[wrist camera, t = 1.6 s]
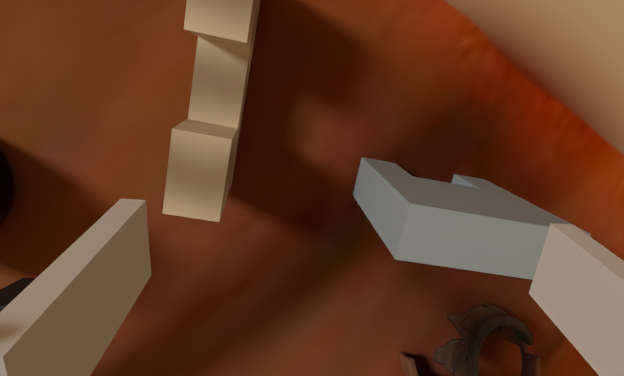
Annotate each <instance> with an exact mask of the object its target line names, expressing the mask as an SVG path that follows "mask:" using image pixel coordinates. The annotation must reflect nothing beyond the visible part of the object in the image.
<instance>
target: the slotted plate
mask: <svg viewBox="0 0 624 376" xmlns="http://www.w3.org/2000/svg"><path fill="white" fill-rule="evenodd" d="M353 196H354V198H355V199H356V201H357V202H358V204H359V206H360V207H361V209H362V210H363V212H364V213H365V215H366V216H367V218H368V219H369V221H370V222H371V224H372V225H373V227H374V228H375V230H376V231H377V233H378V234H379V236H380V237H381V239H382V240H383V242H384V243H385V245H386V246H387V248H388V250H389V251H390V253H391V254H392V256H393V257H394V259H396V260H403V261H409V262H416V263H423V264H430V265H437V266H443V267H450V268H457V269H464V270H471V271H477V272H484V273H491V274H498V275H505V276H511V277H518V278H525V279H532V280H533V278H534V275H535V272H536V269H537V265H538V262H539V259H540V256H541V253H542V249H543V246H544V243H545V240H546V236H547V233H548V230H549V227H550V224H551V223H555V224H570V223H568V222H566V221H564V220H563V219H561V218H559V217H557V216H555V215H553V214H551V213H549V212H547V211H545V210H543V209H541V208H539V207H537V206H535V205H533V204H531V203H529V202H528V201H526V200H524V199H522V198H520V197H518V196H516V195H514V194H512V193H510V192H508V191H506V190H504V189H502V188H500V187H498V186H496V185H494V184H493V183H491V182H489V181H487V180H484V179H479V178H473V177H468V176H462V175H457V174H454V176H453V180H452V183H446V182H441V181H435V180H430V179H424V178H418V177H413V176H411V175H410V174H409V173H407V172H406V171H405V170H403V169H402V168H401V167H400V166H398V165H397V164H396V163H392V162H386V161H381V160H375V159H370V158H364V157H362V158H361V163H360V167H359V171H358V175H357V179H356V184H355V188H354V192H353ZM577 228H578V227H577ZM579 229H580V228H579ZM580 230H581V231H583V232H584V233H586V234H587V235H588V236H590V235H591V234H590V233H588V232H586V231H584V230H582V229H580Z"/></svg>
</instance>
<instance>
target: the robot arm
mask: <svg viewBox="0 0 624 376" xmlns="http://www.w3.org/2000/svg"><path fill="white" fill-rule="evenodd" d="M150 277H151V263H150V250H149V237H148V224H147V212H146V200H135V199H120V200H119V201H118V202H117V203H116V204H115V205H113V206H112V207H111V208H110V209H109V210H108V211H107V212H106V213H105V214H104V215H103V216H102V217H101V218H100V219H99V220H98V221H96V222H95V223H94V224H93V225H92V226H91V227H90V228H89V229H88V230H87V231H86V232H85V233H84V234H83V235H82V236H81V237H79V238H78V239H77V240H76V241H75V242H74V243H73V244H72V245H71V246H70V247H69V248H68V249H67V250H66V251H65V252H63V253H62V254H61V255H60V256H59V257H58V258H57V259H56V260H55V261H54V262H53V263H52V264H51V265H50V266H49V267H48V268H46V269H45V270H44V271H43V272H42V273H41V274H40V275H39V276H38V277H37V278H22V279H20V280H18V281H16V282H14V283H12V284H10V285H8V286H6V287H5V288H3V289H1V290H0V376H90V375H91V373H92V372H93V370H94V368H95V367H96V365H97V364H98V362H99V360H100V359H101V357H102V355H103V354H104V352H105V350H106V349H107V347H108V346H109V344H110V342H111V341H112V339H113V337H114V336H115V334H116V332H117V331H118V329H119V328H120V326H121V324H122V323H123V321H124V319H125V318H126V316H127V314H128V313H129V311H130V309H131V308H132V306H133V305H134V303H135V301H136V300H137V298H138V296H139V295H140V293H141V291H142V290H143V288H144V287H145V285H146V283H147V282H148V280H149V278H150ZM529 294H530V296H531V297H532V298H533V299H534V300H535V301H536V303H537V304H538V305H539V306H540V307H541V308H542V310H543V311H544V312H545V313H546V314H547V315H548V317H549V318H550V319H551V320H552V321H553V322H554V324H555V325H556V326H557V327H558V328H559V329H560V331H561V332H562V333H563V334H564V335H565V336H566V338H567V339H568V340H569V341H570V342H571V343H572V345H573V346H574V347H575V348H576V349H577V350H578V352H579V353H580V354H581V355H582V356H583V357H584V359H585V360H586V361H587V362H588V363H589V365H590V366H591V367H592V368H593V369H594V370H595V372H596V373H597V374H598V375H599V376H624V261H623V260H621V259H620V258H619V257H617V256H616V255H615V254H613V253H612V252H610V251H609V250H608V249H606V248H605V247H603V246H602V245H601V244H599V243H598V242H597V241H595V240H594V239H592V238H591V237H590V236H588V235H587V234H586V233H584V232H583V231H581V230H580V229H579V228H577V227H576V226H574V225H573V224H555V223H551V224H550V227H549V230H548V233H547V236H546V240H545V243H544V246H543V249H542V253H541V256H540V259H539V262H538V265H537V269H536V272H535V275H534V278H533V281H532V285H531V288H530V291H529Z"/></svg>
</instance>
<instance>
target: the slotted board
mask: <svg viewBox="0 0 624 376" xmlns="http://www.w3.org/2000/svg"><path fill="white" fill-rule="evenodd" d="M260 2H261V0H187V4H186V13H185V22H184V30H186V31H189V32H191V33H193V34H195V35H197V36H198V42H197V50H196V58H195V66H194V74H193V82H192V90H191V98H190V106H189V114H188V119H187V120H185V121H184V122H182V123H180V124H179V125H177V126H176V127H174V128H172V135H171V144H170V152H169V161H168V170H167V178H166V187H165V196H164V205H163V214H169V215H176V216H183V217H189V218H196V219H202V220H209V221H216V222H219V221H220V218H221V215H222V212H223V209H224V206H225V203H226V200H227V197H228V194H229V191H230V188H231V185H232V180H233V174H234V167H235V161H236V154H237V148H238V142H239V135H240V129H241V123H242V116H243V110H244V104H245V97H246V91H247V85H248V78H249V72H250V66H251V59H252V53H253V47H254V40H255V34H256V27H257V21H258V15H259V8H260Z"/></svg>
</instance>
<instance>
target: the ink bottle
mask: <svg viewBox="0 0 624 376" xmlns="http://www.w3.org/2000/svg"><path fill="white" fill-rule="evenodd" d="M12 199H13V179H12V174H11V170H10V167H9V165H8V163H7V160H6V159H5V157H4V155H3V154H2V152H1V151H0V224H1V223H2V222H3V220H4V219H5V217H6V216H7V214H8V212H9V210H10V207H11V204H12Z"/></svg>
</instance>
